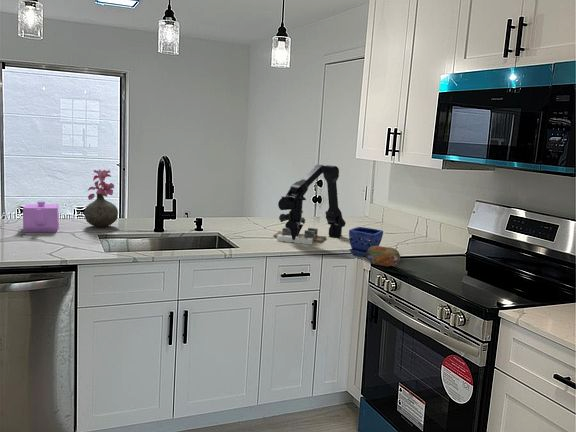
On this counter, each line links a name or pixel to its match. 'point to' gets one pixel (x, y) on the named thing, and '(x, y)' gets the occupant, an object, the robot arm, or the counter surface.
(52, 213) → the pink lidded box
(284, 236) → the white bar
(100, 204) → the vase
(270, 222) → the counter surface
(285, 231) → the cradle board
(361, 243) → the flower pot
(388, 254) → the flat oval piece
